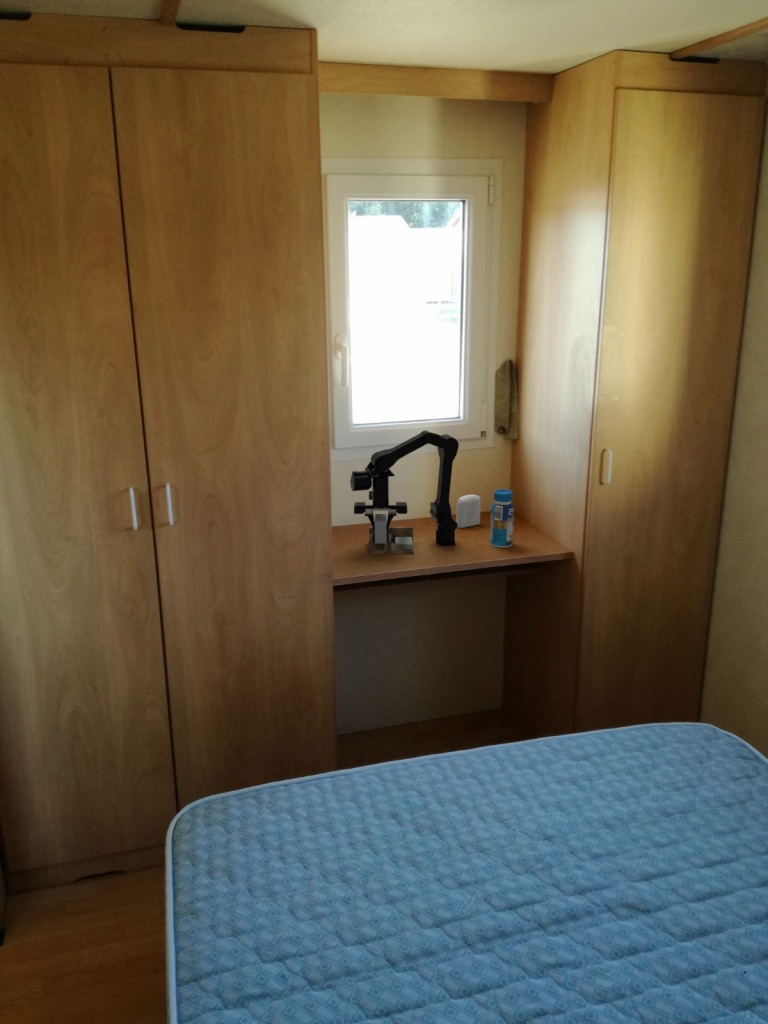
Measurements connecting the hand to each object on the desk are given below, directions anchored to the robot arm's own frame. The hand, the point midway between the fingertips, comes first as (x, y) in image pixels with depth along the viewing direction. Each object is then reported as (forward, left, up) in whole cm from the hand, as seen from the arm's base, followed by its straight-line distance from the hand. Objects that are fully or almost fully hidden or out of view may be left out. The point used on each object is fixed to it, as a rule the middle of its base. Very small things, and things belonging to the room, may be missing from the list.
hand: (380, 531), depth 279 cm
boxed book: (0, 0, -3) cm, 3 cm away
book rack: (-4, -1, -7) cm, 8 cm away
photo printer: (-34, -27, -7) cm, 44 cm away
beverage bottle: (-44, -5, -7) cm, 45 cm away
